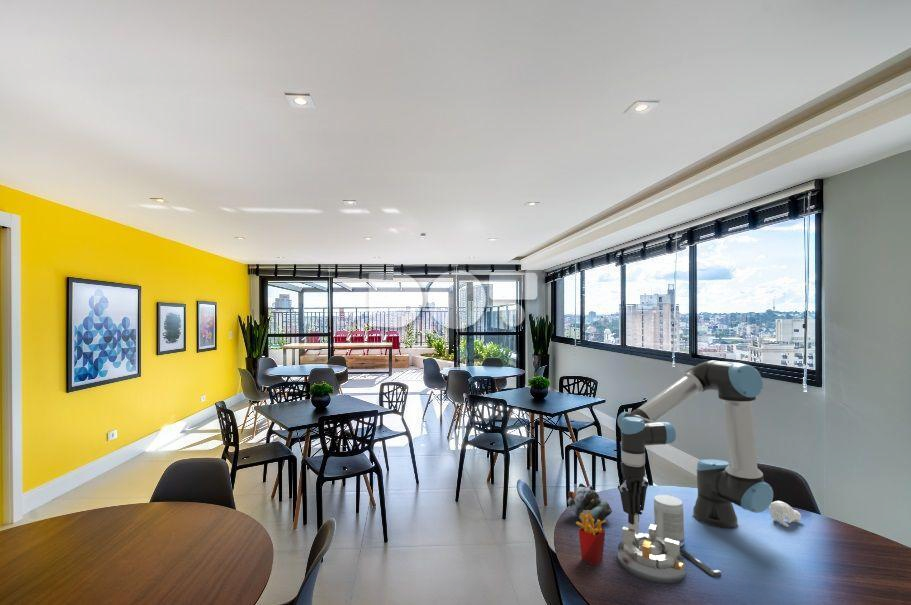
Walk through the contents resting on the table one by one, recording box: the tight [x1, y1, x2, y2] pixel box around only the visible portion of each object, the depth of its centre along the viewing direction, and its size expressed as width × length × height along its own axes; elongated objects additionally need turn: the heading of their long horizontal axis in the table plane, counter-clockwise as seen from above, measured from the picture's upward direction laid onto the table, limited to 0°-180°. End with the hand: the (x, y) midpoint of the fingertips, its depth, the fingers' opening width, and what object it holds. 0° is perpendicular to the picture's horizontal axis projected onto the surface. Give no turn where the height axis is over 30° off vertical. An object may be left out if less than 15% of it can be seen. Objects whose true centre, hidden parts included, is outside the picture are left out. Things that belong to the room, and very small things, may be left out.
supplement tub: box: [653, 494, 685, 547], centre depth 148 cm, size 10×10×15 cm
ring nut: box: [621, 523, 681, 569], centre depth 134 cm, size 16×16×6 cm
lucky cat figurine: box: [567, 483, 613, 526], centre depth 164 cm, size 15×12×14 cm
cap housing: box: [617, 539, 686, 584], centre depth 134 cm, size 20×20×6 cm
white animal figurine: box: [768, 500, 802, 528], centre depth 161 cm, size 6×8×12 cm
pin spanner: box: [680, 549, 722, 577], centre depth 133 cm, size 13×3×2 cm, turn 12°
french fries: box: [575, 510, 607, 567], centre depth 136 cm, size 9×8×15 cm
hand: (633, 532), depth 140 cm, fingers closed
